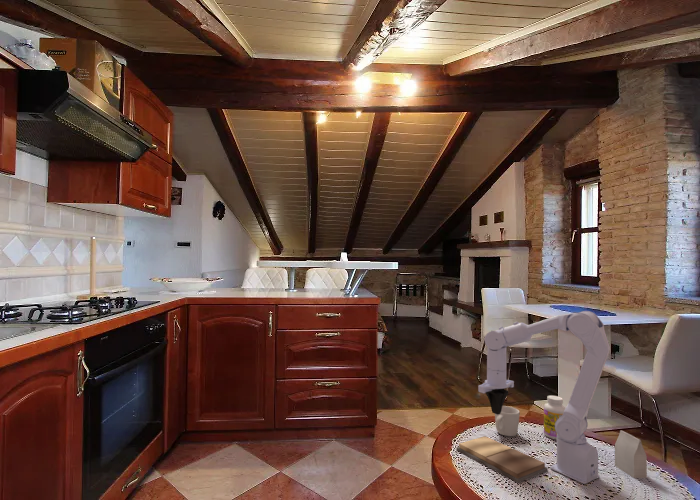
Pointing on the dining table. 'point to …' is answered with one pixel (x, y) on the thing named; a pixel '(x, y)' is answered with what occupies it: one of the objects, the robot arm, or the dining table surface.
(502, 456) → the floor board
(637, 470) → the beige gabled carton
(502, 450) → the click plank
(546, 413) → the supplement bottle
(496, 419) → the cup
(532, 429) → the dining table surface
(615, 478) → the dining table surface
